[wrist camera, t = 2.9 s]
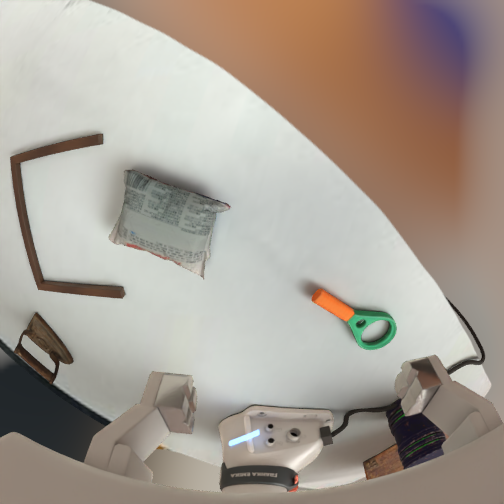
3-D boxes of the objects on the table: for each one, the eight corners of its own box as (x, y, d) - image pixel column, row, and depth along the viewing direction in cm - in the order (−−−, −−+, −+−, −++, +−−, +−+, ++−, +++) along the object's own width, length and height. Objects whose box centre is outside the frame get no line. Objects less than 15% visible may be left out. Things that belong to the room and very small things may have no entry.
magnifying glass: (401, 323, 35) (405, 330, 34) (372, 350, 38) (376, 357, 36) (331, 272, 32) (334, 279, 30) (299, 307, 34) (300, 315, 33)
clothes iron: (34, 307, 36) (15, 349, 28) (83, 341, 42) (74, 384, 34) (24, 325, 37) (8, 365, 29) (70, 356, 43) (60, 397, 35)
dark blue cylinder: (413, 386, 42) (439, 446, 29) (432, 395, 45) (456, 446, 31) (376, 414, 46) (394, 473, 32) (399, 421, 48) (416, 472, 34)
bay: (102, 133, 25) (98, 134, 25) (125, 294, 34) (122, 298, 33) (14, 155, 26) (10, 157, 25) (41, 286, 34) (38, 289, 33)
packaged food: (206, 268, 32) (199, 290, 27) (115, 233, 30) (95, 249, 26) (233, 198, 29) (229, 211, 24) (132, 162, 27) (111, 168, 22)
